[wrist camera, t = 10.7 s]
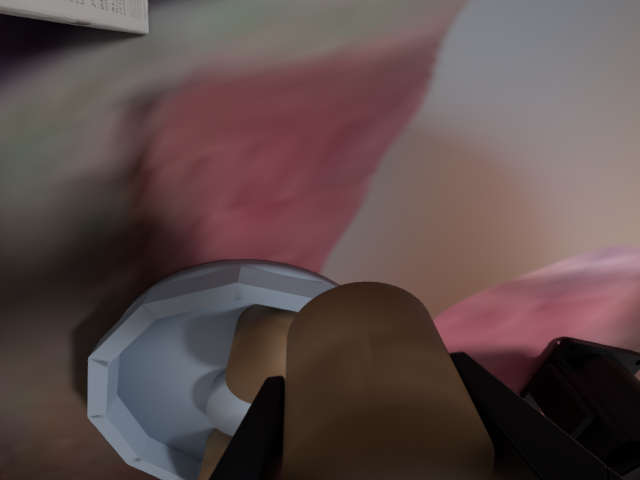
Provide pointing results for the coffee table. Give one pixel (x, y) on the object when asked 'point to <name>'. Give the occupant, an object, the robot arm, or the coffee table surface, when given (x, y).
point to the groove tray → (183, 361)
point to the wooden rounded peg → (213, 452)
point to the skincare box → (84, 13)
